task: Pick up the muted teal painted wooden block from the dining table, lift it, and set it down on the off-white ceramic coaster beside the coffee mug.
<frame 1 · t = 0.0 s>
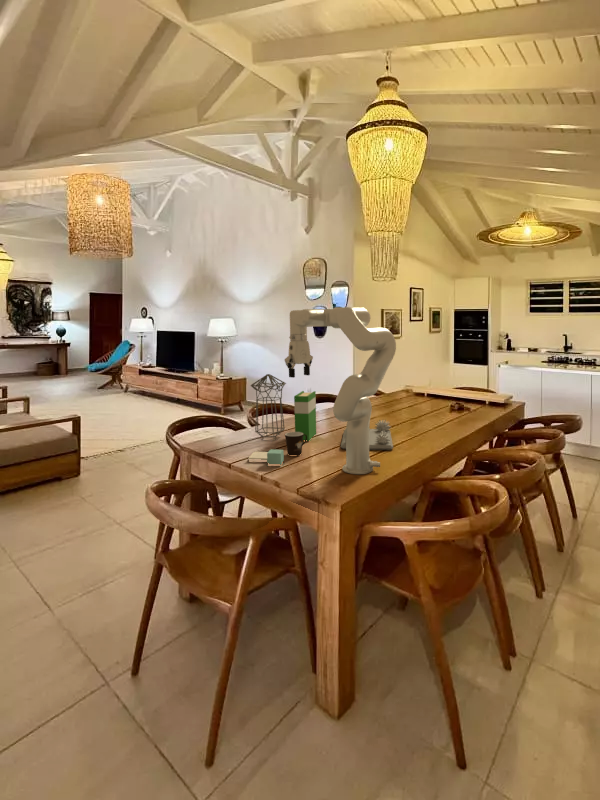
hand: (299, 376, 206), 37 cm above the table, tool pointing down, fingers open, 9 cm apart
geometric lantern: (270, 438, 245), on the table
coffee mug: (297, 454, 214), on the table
block: (275, 464, 199), on the table
coaster: (262, 459, 208), on the table
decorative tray: (367, 442, 235), on the table
hardback book: (306, 437, 245), on the table
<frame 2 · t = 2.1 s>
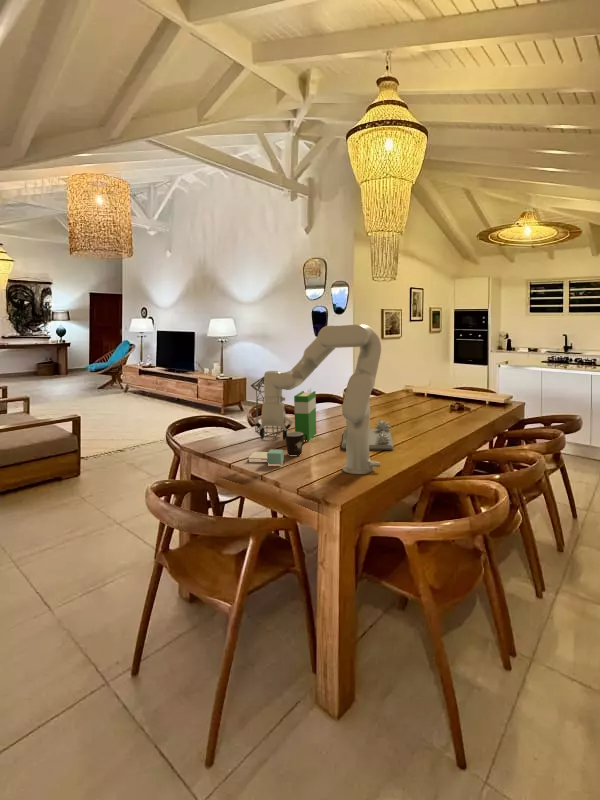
hand: (273, 438, 198), 12 cm above the table, tool pointing down, fingers open, 9 cm apart
nothing on the table moved.
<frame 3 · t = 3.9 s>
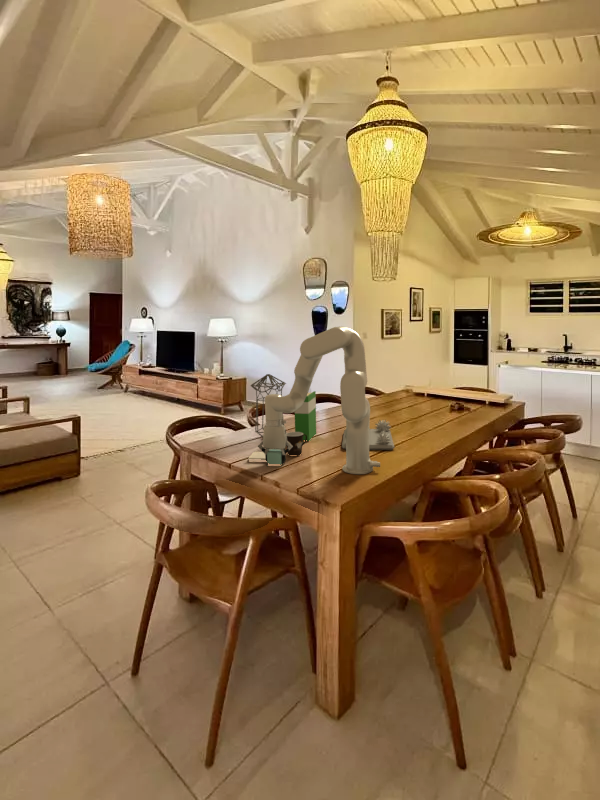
hand: (275, 462, 199), 1 cm above the table, tool pointing down, fingers closed on block, 6 cm apart
block: (275, 464, 199), on the table, touching gripper
everything else where it was.
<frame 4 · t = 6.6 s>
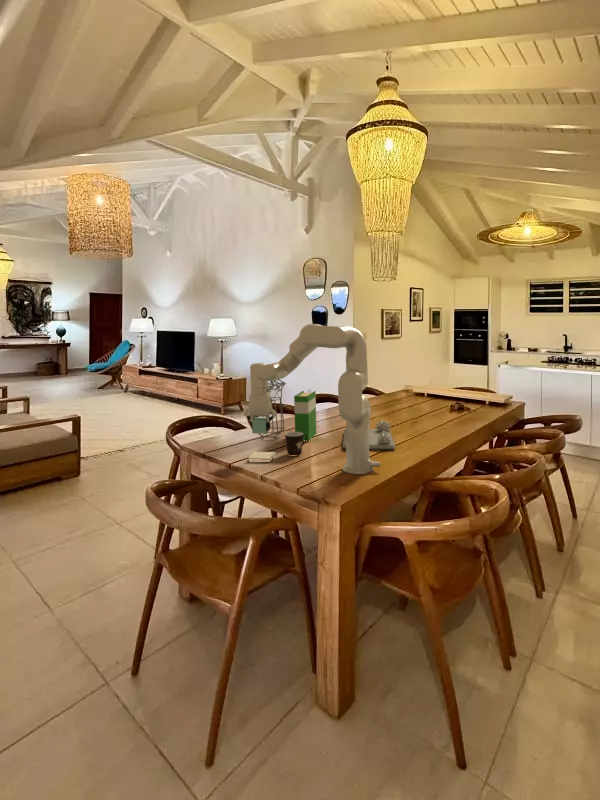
hand: (260, 429, 205), 14 cm above the table, tool pointing down, fingers closed on block, 6 cm apart
block: (260, 431, 205), point 13 cm above the table, touching gripper
everything else where it was.
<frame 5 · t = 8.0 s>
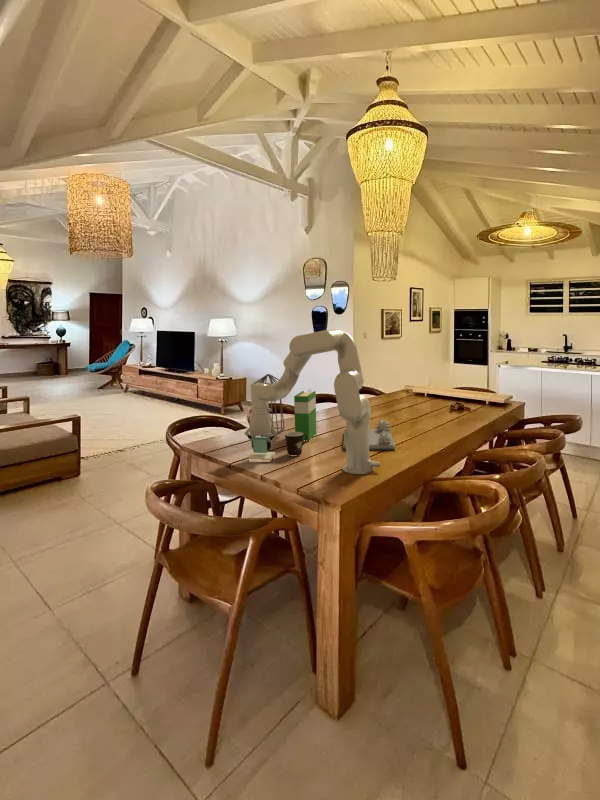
hand: (261, 449, 207), 5 cm above the table, tool pointing down, fingers closed on block, 6 cm apart
block: (261, 451, 207), point 4 cm above the table, touching gripper
everything else where it was.
when the fingers open (4 cm above the table, at t = 9.1 s): block drops 1 cm, resting on coaster.
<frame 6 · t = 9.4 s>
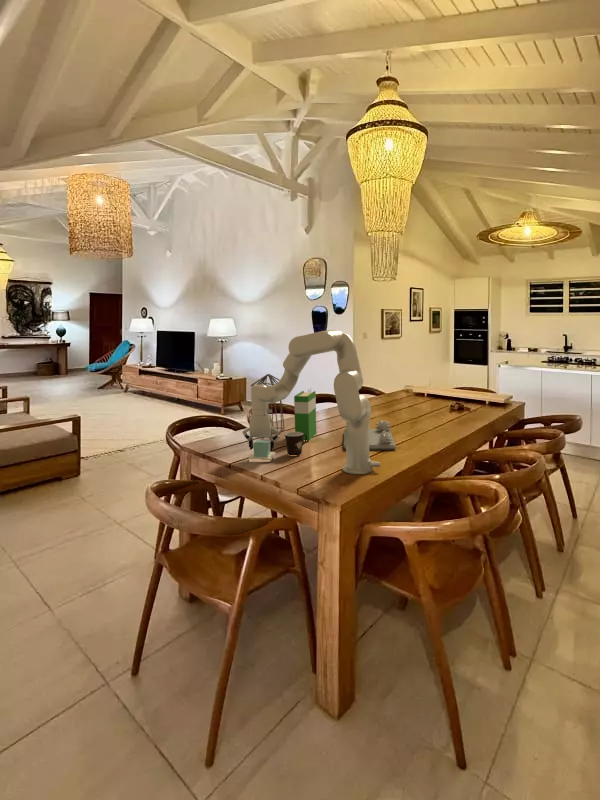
hand: (261, 449, 207), 5 cm above the table, tool pointing down, fingers open, 9 cm apart
block: (262, 454, 207), point 2 cm above the table, touching coaster
everything else where it was.
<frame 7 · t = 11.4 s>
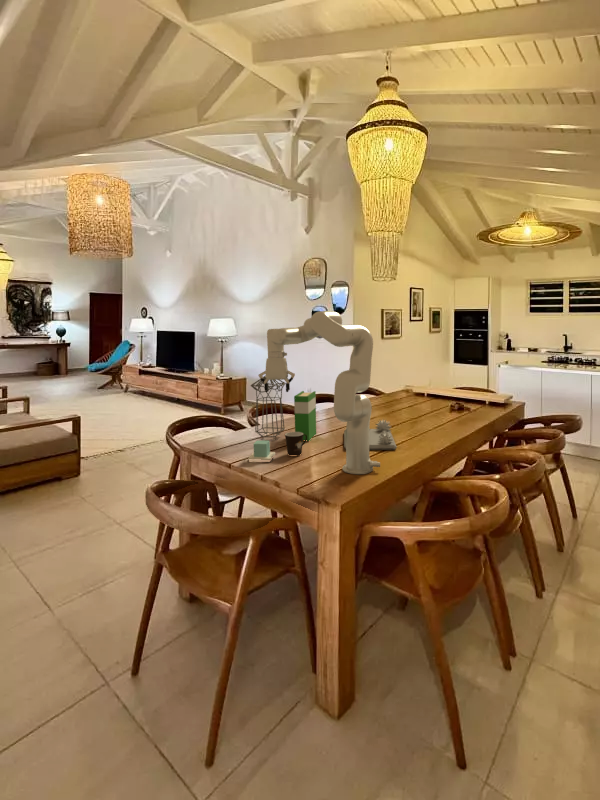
hand: (277, 391, 214), 29 cm above the table, tool pointing down, fingers open, 9 cm apart
nothing on the table moved.
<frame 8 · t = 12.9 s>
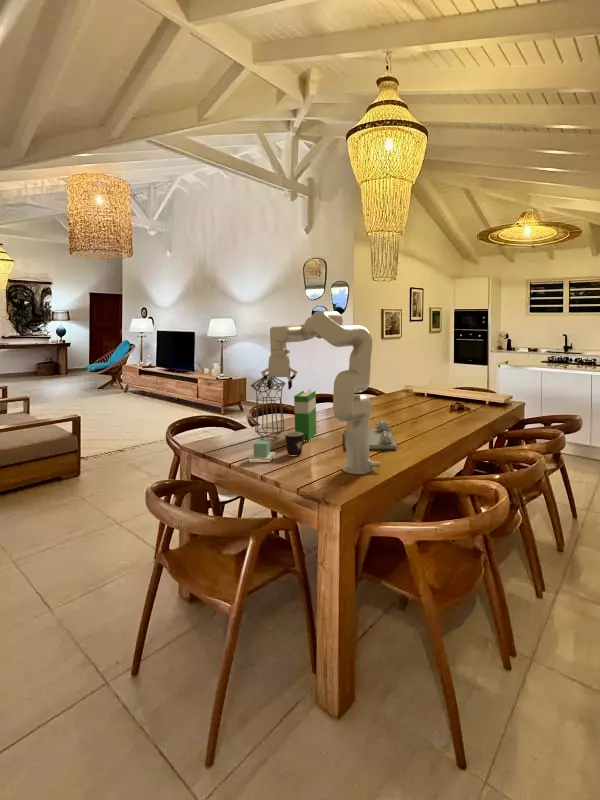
hand: (279, 388, 216), 30 cm above the table, tool pointing down, fingers open, 9 cm apart
at the end: block inside the target area on the coaster (0.1 cm from its centre), point 2.0 cm above the coaster's base; block tilted 0°; the gripper is holding nothing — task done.
